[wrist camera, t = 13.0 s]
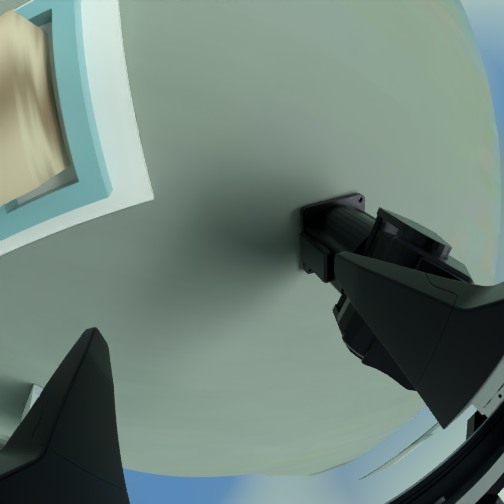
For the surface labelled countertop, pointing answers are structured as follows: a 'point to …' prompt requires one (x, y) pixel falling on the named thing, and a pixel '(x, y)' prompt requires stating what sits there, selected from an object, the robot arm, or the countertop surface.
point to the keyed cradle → (83, 124)
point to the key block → (27, 110)
